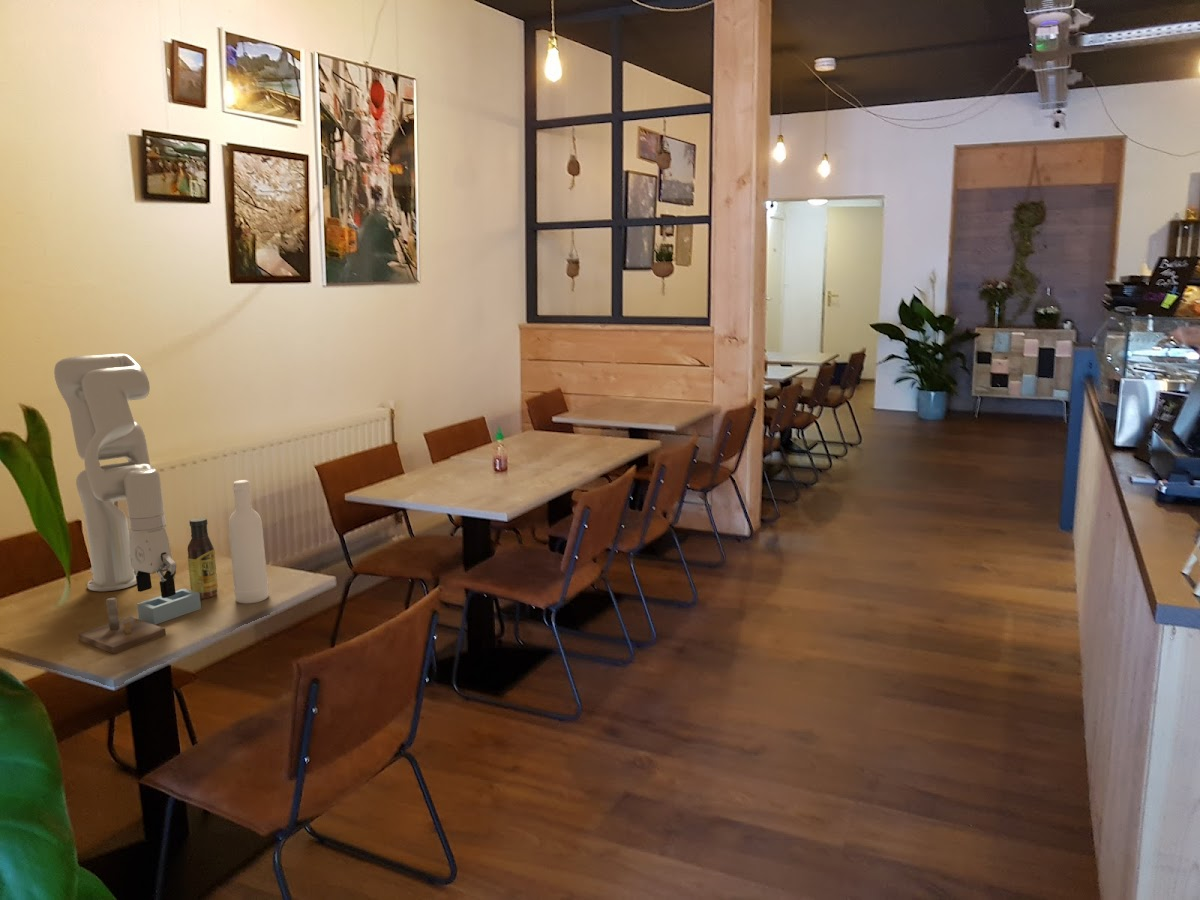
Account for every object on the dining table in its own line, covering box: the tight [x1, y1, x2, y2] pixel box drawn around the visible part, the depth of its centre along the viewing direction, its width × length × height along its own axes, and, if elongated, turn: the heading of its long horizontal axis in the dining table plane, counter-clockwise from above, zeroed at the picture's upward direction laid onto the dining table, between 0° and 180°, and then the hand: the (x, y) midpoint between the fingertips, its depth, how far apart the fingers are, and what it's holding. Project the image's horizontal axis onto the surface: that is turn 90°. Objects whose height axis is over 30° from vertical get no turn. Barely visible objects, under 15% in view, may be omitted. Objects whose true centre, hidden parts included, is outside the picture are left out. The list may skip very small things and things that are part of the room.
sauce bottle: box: [187, 517, 219, 600], centre depth 229 cm, size 6×6×20 cm
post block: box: [78, 597, 167, 655], centre depth 205 cm, size 14×12×8 cm
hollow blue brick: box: [136, 587, 202, 626], centre depth 219 cm, size 12×6×4 cm, turn 147°
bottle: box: [227, 479, 270, 605], centre depth 226 cm, size 8×8×30 cm
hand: (156, 593), depth 215 cm, fingers open, 9 cm apart
